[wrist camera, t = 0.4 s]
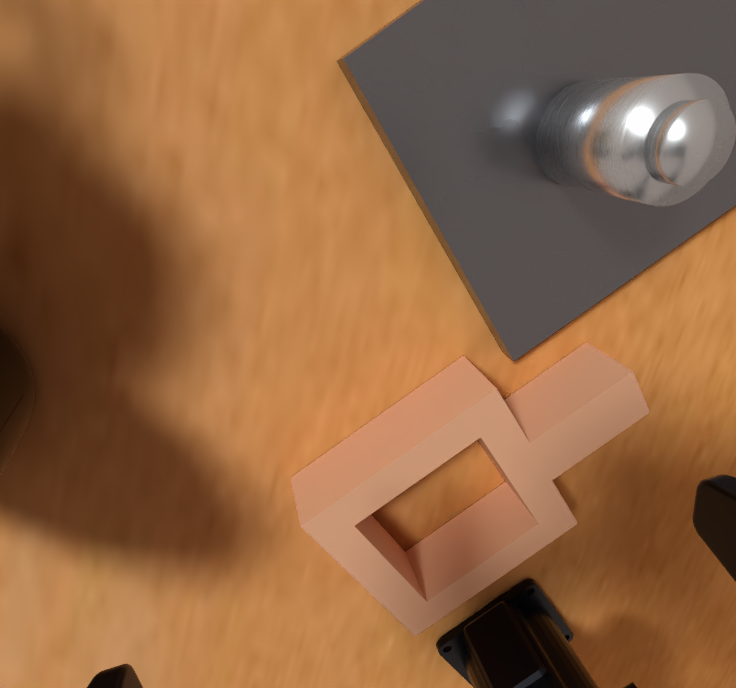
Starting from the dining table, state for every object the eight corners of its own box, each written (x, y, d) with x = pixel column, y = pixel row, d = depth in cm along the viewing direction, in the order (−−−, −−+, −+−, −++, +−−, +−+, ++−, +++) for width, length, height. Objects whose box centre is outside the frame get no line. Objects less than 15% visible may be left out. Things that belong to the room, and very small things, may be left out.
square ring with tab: (624, 424, 27) (670, 459, 24) (395, 584, 27) (415, 636, 24) (561, 286, 22) (607, 310, 20) (290, 477, 23) (300, 526, 20)
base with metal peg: (812, 133, 23) (1007, 141, 17) (502, 351, 23) (594, 429, 17) (756, -244, 17) (1030, -420, 11) (336, 61, 17) (397, 39, 11)
